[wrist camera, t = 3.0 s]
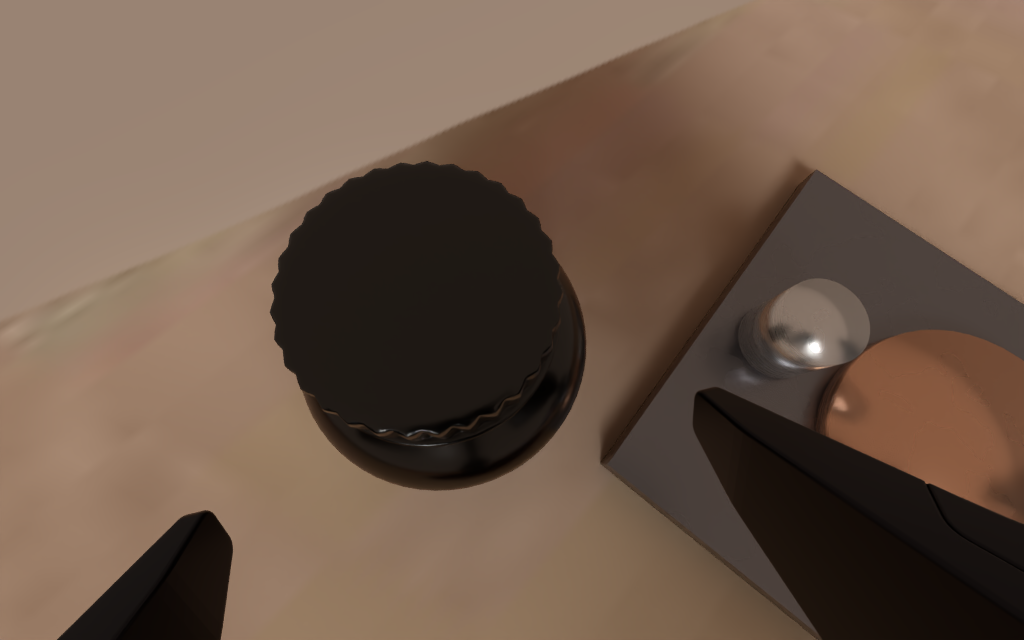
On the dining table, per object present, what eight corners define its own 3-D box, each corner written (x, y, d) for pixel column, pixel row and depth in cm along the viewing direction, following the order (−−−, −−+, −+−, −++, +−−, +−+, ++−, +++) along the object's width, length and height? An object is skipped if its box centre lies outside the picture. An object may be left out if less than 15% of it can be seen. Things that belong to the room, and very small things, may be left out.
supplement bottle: (454, 274, 21) (404, 41, 9) (583, 371, 20) (713, 251, 8) (342, 402, 19) (107, 318, 7) (478, 514, 18) (453, 622, 6)
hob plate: (1222, 463, 20) (1412, 465, 16) (1088, 858, 16) (1293, 997, 12) (799, 184, 22) (867, 124, 18) (600, 463, 19) (630, 466, 15)
